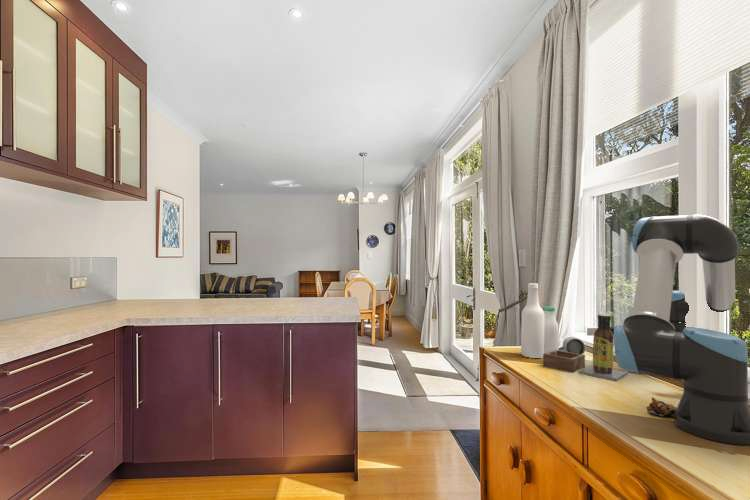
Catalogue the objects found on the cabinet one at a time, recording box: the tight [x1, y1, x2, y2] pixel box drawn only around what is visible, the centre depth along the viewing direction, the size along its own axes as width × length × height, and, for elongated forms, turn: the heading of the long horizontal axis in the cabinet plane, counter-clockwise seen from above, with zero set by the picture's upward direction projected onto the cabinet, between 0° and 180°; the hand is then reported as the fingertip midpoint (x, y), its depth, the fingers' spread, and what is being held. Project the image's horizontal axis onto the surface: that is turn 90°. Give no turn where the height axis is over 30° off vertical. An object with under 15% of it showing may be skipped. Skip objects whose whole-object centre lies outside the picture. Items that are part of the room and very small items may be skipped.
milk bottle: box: [542, 306, 560, 354], centre depth 170 cm, size 8×8×20 cm
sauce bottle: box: [592, 313, 614, 373], centre depth 142 cm, size 6×6×20 cm
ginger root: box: [646, 396, 677, 418], centre depth 107 cm, size 7×12×4 cm, turn 151°
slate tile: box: [578, 364, 629, 382], centre depth 142 cm, size 12×12×1 cm
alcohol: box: [520, 282, 544, 359], centre depth 166 cm, size 9×9×30 cm
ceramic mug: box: [559, 336, 586, 355], centre depth 170 cm, size 11×8×8 cm
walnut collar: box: [542, 350, 586, 373], centre depth 150 cm, size 11×11×4 cm
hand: (601, 335), depth 142 cm, fingers open, 13 cm apart
